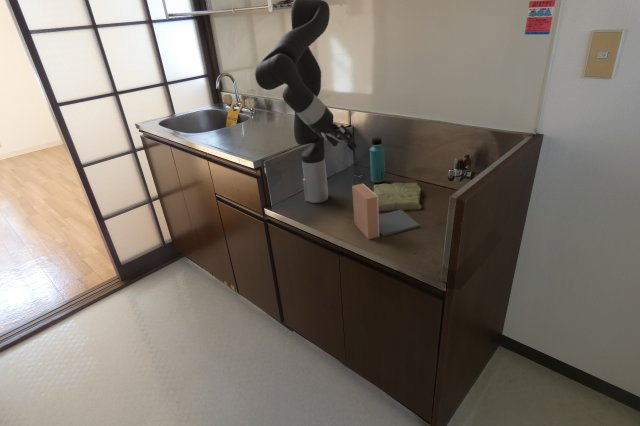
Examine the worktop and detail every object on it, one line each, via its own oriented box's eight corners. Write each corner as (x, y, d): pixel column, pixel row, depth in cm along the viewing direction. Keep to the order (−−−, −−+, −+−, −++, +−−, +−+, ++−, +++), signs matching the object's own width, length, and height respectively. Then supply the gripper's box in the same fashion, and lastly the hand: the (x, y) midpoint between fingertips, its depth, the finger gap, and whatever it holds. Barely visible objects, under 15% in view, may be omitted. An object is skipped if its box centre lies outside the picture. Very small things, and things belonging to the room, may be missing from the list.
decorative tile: (374, 212, 146) (374, 204, 144) (373, 190, 163) (373, 182, 162) (425, 210, 143) (425, 202, 142) (418, 188, 161) (418, 180, 159)
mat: (382, 236, 129) (382, 234, 129) (366, 219, 140) (366, 217, 140) (419, 226, 132) (419, 224, 132) (401, 211, 143) (401, 209, 143)
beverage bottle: (382, 186, 165) (380, 141, 156) (368, 184, 168) (366, 140, 159) (388, 180, 170) (387, 136, 160) (374, 179, 173) (372, 135, 164)
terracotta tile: (368, 239, 128) (366, 199, 121) (354, 223, 139) (352, 185, 132) (379, 236, 129) (378, 196, 122) (364, 221, 140) (362, 183, 133)
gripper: (336, 104, 104) (367, 139, 114) (306, 100, 114) (337, 133, 125) (322, 126, 103) (354, 160, 114) (292, 121, 114) (324, 152, 124)
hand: (345, 146), depth 119 cm, fingers open, 8 cm apart
